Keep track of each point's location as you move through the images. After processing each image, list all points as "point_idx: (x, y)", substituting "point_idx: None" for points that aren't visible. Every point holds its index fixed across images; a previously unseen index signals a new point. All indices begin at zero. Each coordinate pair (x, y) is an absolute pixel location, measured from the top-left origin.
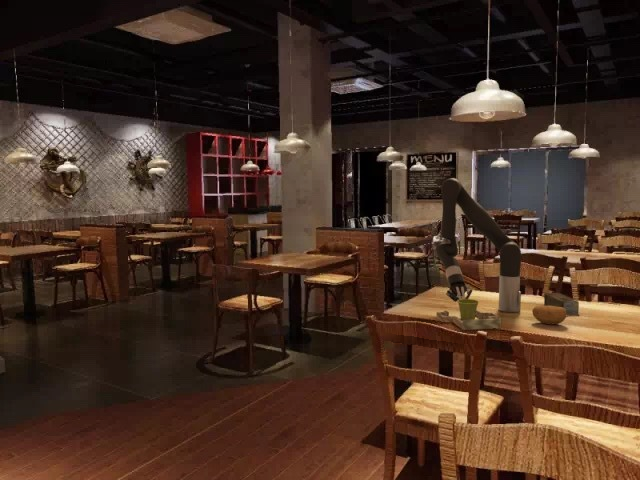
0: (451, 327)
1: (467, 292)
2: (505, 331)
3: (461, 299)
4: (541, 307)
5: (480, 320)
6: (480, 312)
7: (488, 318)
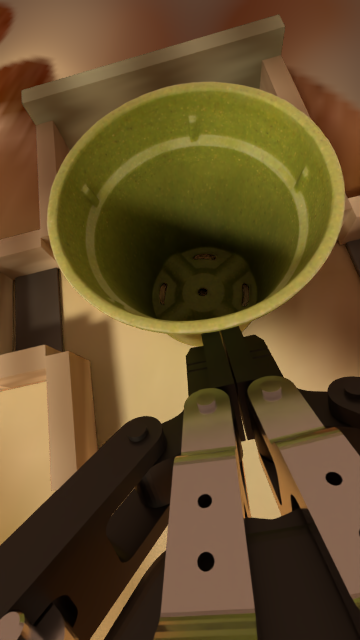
0: (344, 111)
1: (62, 628)
2: None
3: (266, 300)
4: None
5: (159, 53)
6: (67, 356)
7: None
